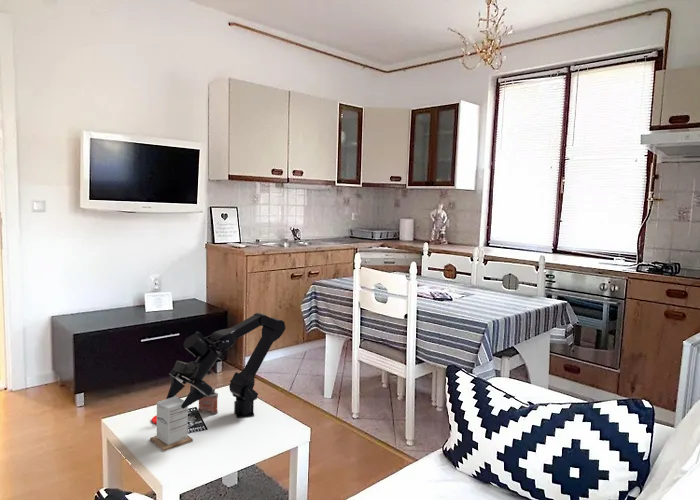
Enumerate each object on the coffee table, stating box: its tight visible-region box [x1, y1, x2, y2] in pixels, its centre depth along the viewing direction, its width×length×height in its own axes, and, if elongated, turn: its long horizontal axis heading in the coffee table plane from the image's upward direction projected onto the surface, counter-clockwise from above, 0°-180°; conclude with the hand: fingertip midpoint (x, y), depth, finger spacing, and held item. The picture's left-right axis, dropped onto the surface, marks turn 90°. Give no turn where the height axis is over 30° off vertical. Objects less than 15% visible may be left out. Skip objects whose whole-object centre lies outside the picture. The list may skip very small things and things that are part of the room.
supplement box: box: [156, 396, 189, 445], centre depth 164 cm, size 7×7×13 cm
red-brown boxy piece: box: [197, 387, 219, 416], centre depth 188 cm, size 8×3×10 cm, turn 71°
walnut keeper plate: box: [149, 434, 194, 452], centre depth 165 cm, size 10×10×1 cm
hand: (174, 403), depth 165 cm, fingers open, 9 cm apart
